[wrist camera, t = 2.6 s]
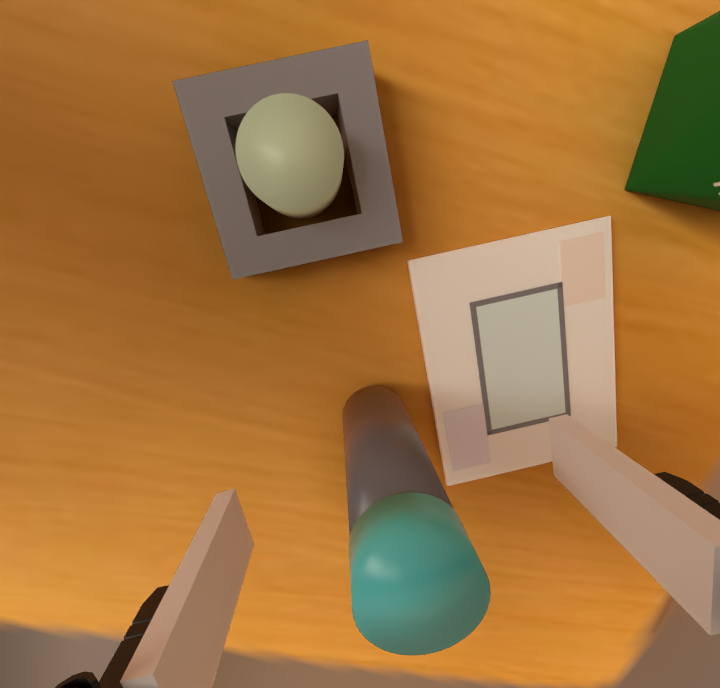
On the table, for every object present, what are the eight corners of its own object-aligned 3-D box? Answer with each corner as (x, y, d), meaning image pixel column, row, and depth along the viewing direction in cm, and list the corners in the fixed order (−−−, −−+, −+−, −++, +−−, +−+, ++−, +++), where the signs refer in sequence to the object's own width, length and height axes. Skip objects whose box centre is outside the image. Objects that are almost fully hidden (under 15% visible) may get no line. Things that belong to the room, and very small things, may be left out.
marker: (348, 444, 21) (368, 668, 10) (334, 388, 21) (337, 563, 9) (408, 430, 22) (497, 637, 10) (397, 373, 21) (481, 529, 9)
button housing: (244, 276, 19) (232, 279, 16) (194, 105, 17) (172, 81, 14) (394, 243, 19) (403, 241, 16) (362, 70, 17) (367, 40, 14)
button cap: (266, 226, 17) (253, 221, 14) (241, 132, 16) (221, 105, 13) (350, 208, 17) (354, 199, 14) (330, 113, 16) (330, 82, 13)
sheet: (445, 482, 23) (447, 487, 22) (406, 260, 19) (408, 260, 19) (612, 443, 23) (618, 447, 22) (605, 216, 19) (611, 215, 19)
